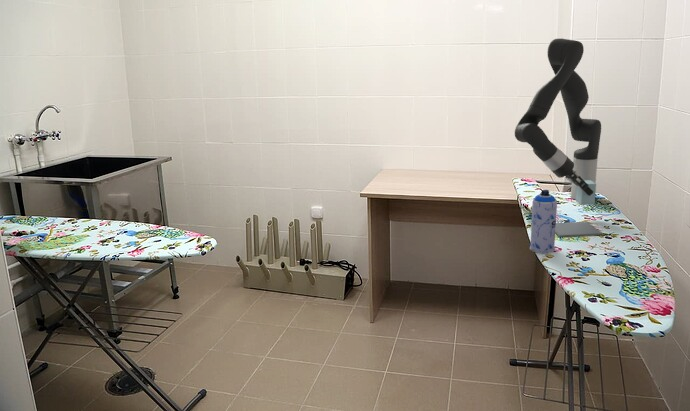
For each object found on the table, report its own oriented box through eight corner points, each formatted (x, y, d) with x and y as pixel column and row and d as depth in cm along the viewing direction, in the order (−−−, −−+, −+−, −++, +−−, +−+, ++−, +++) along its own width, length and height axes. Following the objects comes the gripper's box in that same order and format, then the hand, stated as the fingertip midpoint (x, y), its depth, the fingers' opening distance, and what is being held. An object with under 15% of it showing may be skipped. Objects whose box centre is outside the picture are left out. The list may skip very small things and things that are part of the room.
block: (575, 201, 217) (577, 180, 215) (589, 200, 217) (590, 180, 214) (581, 205, 212) (582, 184, 210) (594, 204, 212) (596, 183, 210)
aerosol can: (551, 254, 182) (555, 194, 176) (526, 251, 186) (529, 192, 181) (557, 247, 188) (560, 188, 183) (533, 243, 193) (535, 186, 187)
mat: (546, 225, 210) (546, 223, 210) (587, 223, 210) (587, 221, 210) (559, 237, 197) (559, 235, 197) (602, 234, 197) (602, 233, 197)
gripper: (573, 159, 202) (604, 189, 206) (558, 150, 216) (588, 179, 219) (557, 174, 204) (588, 204, 207) (543, 165, 218) (573, 193, 221)
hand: (588, 191), depth 213 cm, fingers closed on block, 5 cm apart
